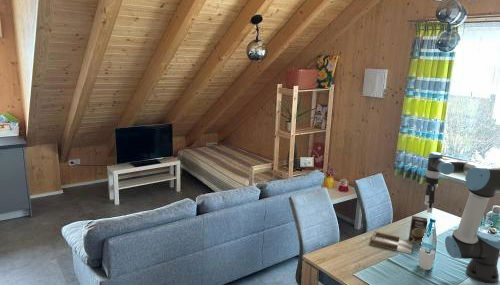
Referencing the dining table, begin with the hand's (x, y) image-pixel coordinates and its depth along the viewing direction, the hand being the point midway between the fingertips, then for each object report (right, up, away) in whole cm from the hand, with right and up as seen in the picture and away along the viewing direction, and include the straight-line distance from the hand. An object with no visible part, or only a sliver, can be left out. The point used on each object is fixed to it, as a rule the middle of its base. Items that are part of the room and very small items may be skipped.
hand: (427, 208), depth 235 cm
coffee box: (-6, -22, +2) cm, 23 cm away
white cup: (-15, -28, -27) cm, 42 cm away
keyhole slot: (-24, -22, -2) cm, 33 cm away
